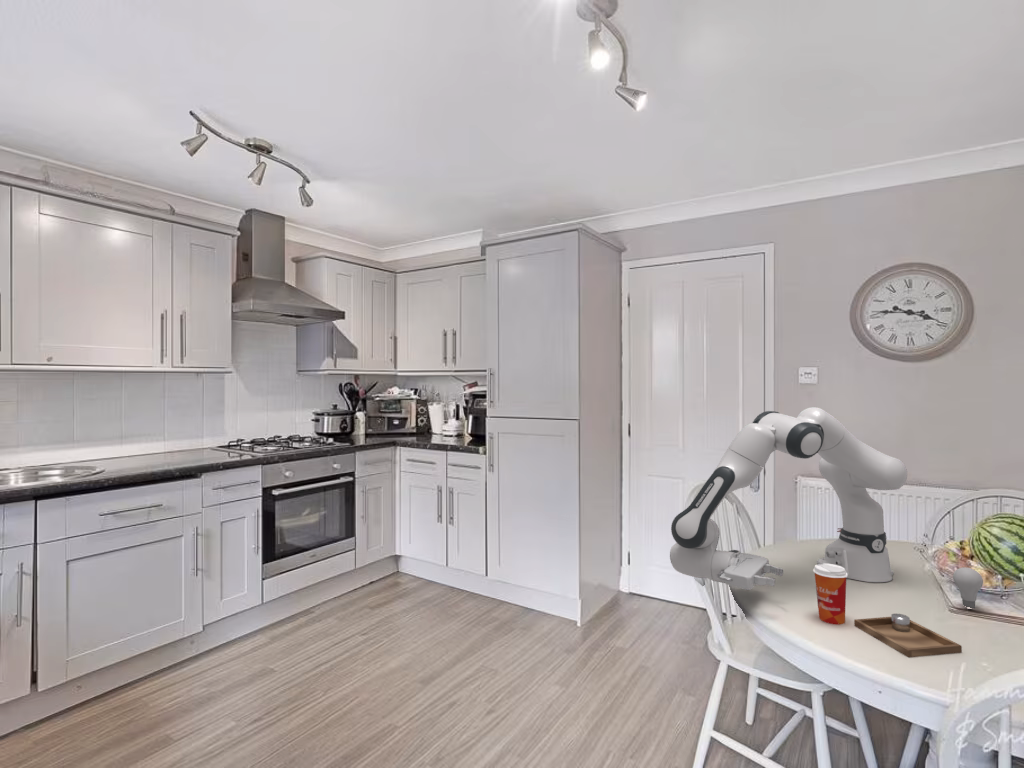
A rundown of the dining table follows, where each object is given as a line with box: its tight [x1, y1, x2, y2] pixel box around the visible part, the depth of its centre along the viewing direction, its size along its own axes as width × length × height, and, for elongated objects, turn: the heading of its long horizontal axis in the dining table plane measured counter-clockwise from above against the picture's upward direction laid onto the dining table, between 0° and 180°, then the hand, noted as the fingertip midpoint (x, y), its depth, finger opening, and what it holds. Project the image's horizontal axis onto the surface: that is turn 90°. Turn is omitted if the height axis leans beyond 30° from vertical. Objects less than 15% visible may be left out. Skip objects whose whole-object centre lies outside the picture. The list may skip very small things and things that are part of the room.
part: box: [890, 613, 911, 632], centre depth 130 cm, size 4×4×3 cm
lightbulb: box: [952, 566, 984, 609], centre depth 142 cm, size 6×6×11 cm
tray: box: [853, 616, 963, 658], centre depth 126 cm, size 16×13×2 cm
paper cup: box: [812, 563, 848, 626], centre depth 137 cm, size 8×8×14 cm
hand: (778, 577), depth 144 cm, fingers open, 8 cm apart
